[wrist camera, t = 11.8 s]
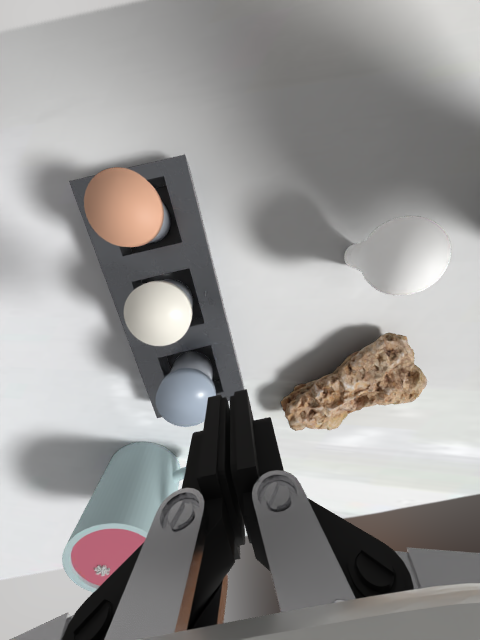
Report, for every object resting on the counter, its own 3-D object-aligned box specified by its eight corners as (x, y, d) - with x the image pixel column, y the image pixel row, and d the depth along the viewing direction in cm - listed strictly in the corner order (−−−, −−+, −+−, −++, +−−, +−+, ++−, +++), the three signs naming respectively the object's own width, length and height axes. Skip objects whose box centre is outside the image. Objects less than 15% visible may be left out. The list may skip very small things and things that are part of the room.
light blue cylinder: (209, 342, 28) (207, 367, 22) (221, 384, 29) (221, 418, 23) (163, 353, 28) (147, 382, 22) (176, 395, 29) (165, 432, 23)
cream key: (189, 269, 25) (180, 275, 19) (203, 318, 27) (198, 337, 21) (138, 281, 25) (113, 291, 19) (154, 330, 27) (136, 352, 21)
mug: (126, 507, 35) (91, 606, 25) (95, 455, 32) (42, 542, 22) (222, 476, 34) (223, 563, 25) (199, 421, 32) (190, 494, 22)
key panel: (189, 166, 24) (184, 154, 22) (243, 382, 31) (245, 396, 28) (87, 189, 24) (69, 181, 21) (163, 402, 31) (157, 418, 28)
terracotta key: (165, 183, 23) (147, 159, 17) (181, 241, 25) (169, 237, 19) (109, 195, 23) (71, 176, 17) (129, 253, 25) (100, 254, 19)
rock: (320, 464, 32) (281, 424, 27) (305, 430, 36) (268, 391, 32) (444, 393, 29) (423, 336, 25) (411, 366, 34) (388, 314, 29)
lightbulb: (313, 258, 28) (371, 262, 17) (353, 213, 27) (441, 188, 16) (350, 294, 29) (424, 318, 19) (389, 252, 28) (491, 253, 18)
